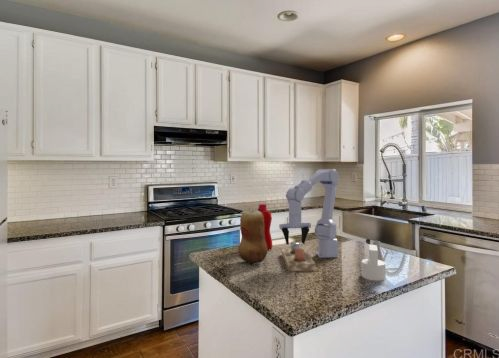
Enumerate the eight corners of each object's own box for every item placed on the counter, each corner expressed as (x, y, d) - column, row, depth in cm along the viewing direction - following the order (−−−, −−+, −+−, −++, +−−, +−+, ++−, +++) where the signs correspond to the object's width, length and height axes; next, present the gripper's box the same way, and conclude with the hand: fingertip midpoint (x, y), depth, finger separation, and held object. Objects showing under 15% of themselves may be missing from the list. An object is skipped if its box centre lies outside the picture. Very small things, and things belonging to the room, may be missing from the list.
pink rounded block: (302, 257, 140) (302, 248, 140) (304, 260, 136) (304, 250, 136) (294, 258, 140) (294, 248, 140) (295, 260, 136) (295, 250, 136)
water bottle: (249, 248, 170) (248, 204, 169) (266, 246, 174) (266, 202, 173) (256, 252, 162) (255, 205, 161) (274, 249, 166) (273, 204, 165)
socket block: (305, 254, 156) (305, 248, 156) (315, 270, 132) (315, 263, 132) (281, 255, 156) (281, 249, 156) (288, 270, 132) (287, 264, 132)
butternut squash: (232, 263, 143) (232, 211, 142) (252, 257, 153) (251, 208, 152) (254, 270, 133) (254, 214, 132) (273, 263, 143) (273, 210, 142)
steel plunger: (298, 250, 152) (298, 241, 152) (300, 253, 148) (299, 243, 148) (290, 250, 152) (290, 242, 152) (291, 253, 148) (291, 244, 148)
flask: (385, 261, 144) (385, 240, 144) (384, 265, 137) (384, 243, 137) (368, 259, 147) (368, 239, 147) (367, 263, 140) (367, 242, 140)
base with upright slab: (386, 281, 118) (386, 251, 118) (361, 279, 121) (361, 249, 121) (384, 274, 127) (384, 245, 126) (361, 271, 130) (361, 244, 129)
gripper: (307, 212, 144) (307, 240, 145) (277, 213, 142) (277, 242, 142) (312, 214, 137) (312, 244, 138) (281, 216, 135) (281, 246, 136)
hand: (295, 243), depth 140 cm, fingers open, 7 cm apart
